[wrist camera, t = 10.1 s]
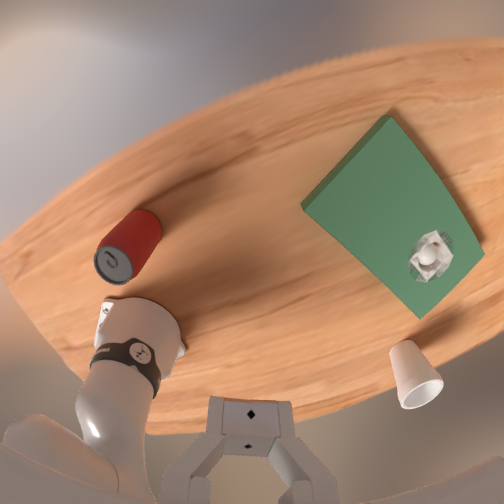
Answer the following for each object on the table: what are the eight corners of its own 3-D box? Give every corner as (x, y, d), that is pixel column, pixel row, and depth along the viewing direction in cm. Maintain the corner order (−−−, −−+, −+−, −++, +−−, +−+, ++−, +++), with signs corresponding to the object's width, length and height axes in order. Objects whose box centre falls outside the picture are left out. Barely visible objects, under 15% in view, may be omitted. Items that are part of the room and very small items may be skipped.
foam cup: (375, 355, 57) (392, 403, 45) (407, 328, 53) (431, 374, 42) (396, 369, 59) (414, 412, 48) (427, 344, 56) (449, 386, 44)
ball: (409, 254, 43) (430, 258, 40) (416, 235, 44) (437, 237, 41) (415, 267, 45) (435, 271, 42) (422, 248, 46) (442, 251, 43)
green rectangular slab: (413, 310, 51) (419, 319, 48) (300, 204, 42) (303, 210, 39) (476, 247, 45) (485, 254, 42) (382, 115, 36) (391, 116, 33)
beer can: (151, 201, 42) (119, 234, 31) (170, 239, 45) (146, 281, 34) (117, 217, 43) (81, 252, 33) (136, 252, 46) (107, 294, 35)
